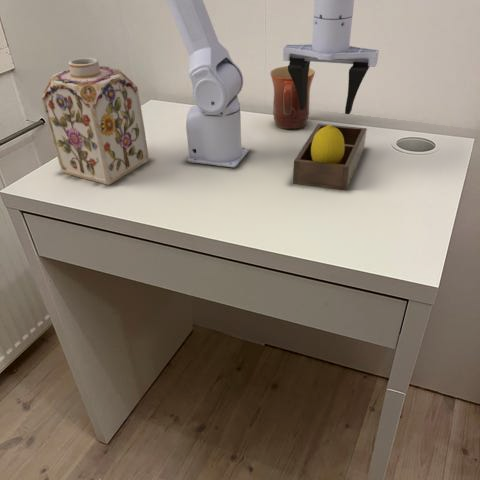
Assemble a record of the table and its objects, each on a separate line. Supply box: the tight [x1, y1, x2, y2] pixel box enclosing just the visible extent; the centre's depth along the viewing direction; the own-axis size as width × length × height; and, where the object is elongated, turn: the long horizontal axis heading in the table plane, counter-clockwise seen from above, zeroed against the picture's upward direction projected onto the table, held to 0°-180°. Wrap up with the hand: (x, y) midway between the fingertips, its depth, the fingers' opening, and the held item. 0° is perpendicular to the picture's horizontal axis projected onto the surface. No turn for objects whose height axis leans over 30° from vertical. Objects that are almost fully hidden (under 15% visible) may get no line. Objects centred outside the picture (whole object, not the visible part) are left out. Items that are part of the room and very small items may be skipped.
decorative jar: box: [41, 57, 150, 186], centre depth 86 cm, size 12×12×18 cm
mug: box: [269, 65, 316, 130], centre depth 101 cm, size 12×9×10 cm
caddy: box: [292, 123, 368, 191], centre depth 89 cm, size 9×17×4 cm, turn 160°
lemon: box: [311, 124, 345, 164], centre depth 84 cm, size 6×6×8 cm
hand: (325, 110), depth 83 cm, fingers open, 7 cm apart
